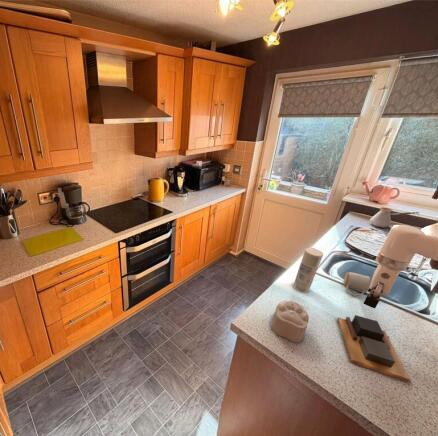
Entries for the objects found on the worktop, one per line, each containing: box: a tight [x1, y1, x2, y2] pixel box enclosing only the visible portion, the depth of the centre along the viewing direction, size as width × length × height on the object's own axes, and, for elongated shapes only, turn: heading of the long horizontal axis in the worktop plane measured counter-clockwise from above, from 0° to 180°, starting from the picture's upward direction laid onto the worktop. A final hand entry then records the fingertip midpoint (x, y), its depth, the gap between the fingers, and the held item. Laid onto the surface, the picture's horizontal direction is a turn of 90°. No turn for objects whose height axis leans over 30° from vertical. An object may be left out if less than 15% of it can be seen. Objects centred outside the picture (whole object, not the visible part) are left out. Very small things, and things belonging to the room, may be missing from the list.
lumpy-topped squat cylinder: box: [271, 300, 310, 343], centre depth 87 cm, size 10×13×9 cm
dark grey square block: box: [351, 314, 384, 342], centre depth 84 cm, size 6×6×4 cm
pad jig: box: [337, 316, 411, 382], centre depth 80 cm, size 14×19×4 cm
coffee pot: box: [369, 206, 420, 229], centre depth 161 cm, size 21×12×15 cm, turn 43°
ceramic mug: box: [342, 271, 371, 297], centre depth 105 cm, size 11×8×8 cm
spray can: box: [293, 247, 324, 293], centre depth 104 cm, size 6×6×20 cm
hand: (371, 299), depth 84 cm, fingers open, 9 cm apart
